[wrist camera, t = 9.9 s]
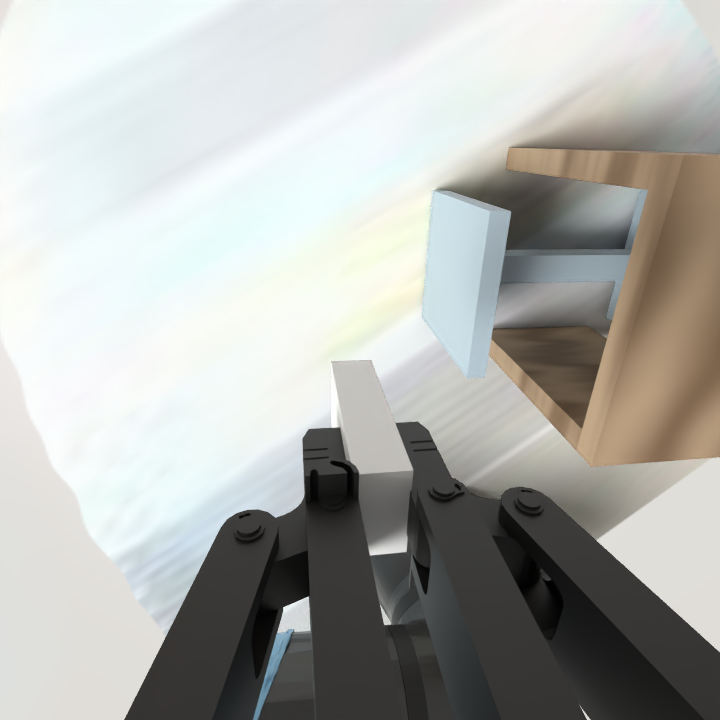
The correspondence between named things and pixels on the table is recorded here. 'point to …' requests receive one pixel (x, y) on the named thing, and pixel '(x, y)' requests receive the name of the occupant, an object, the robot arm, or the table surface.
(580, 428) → the tunnel
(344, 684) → the robot arm
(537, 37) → the table surface
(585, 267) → the plunger
